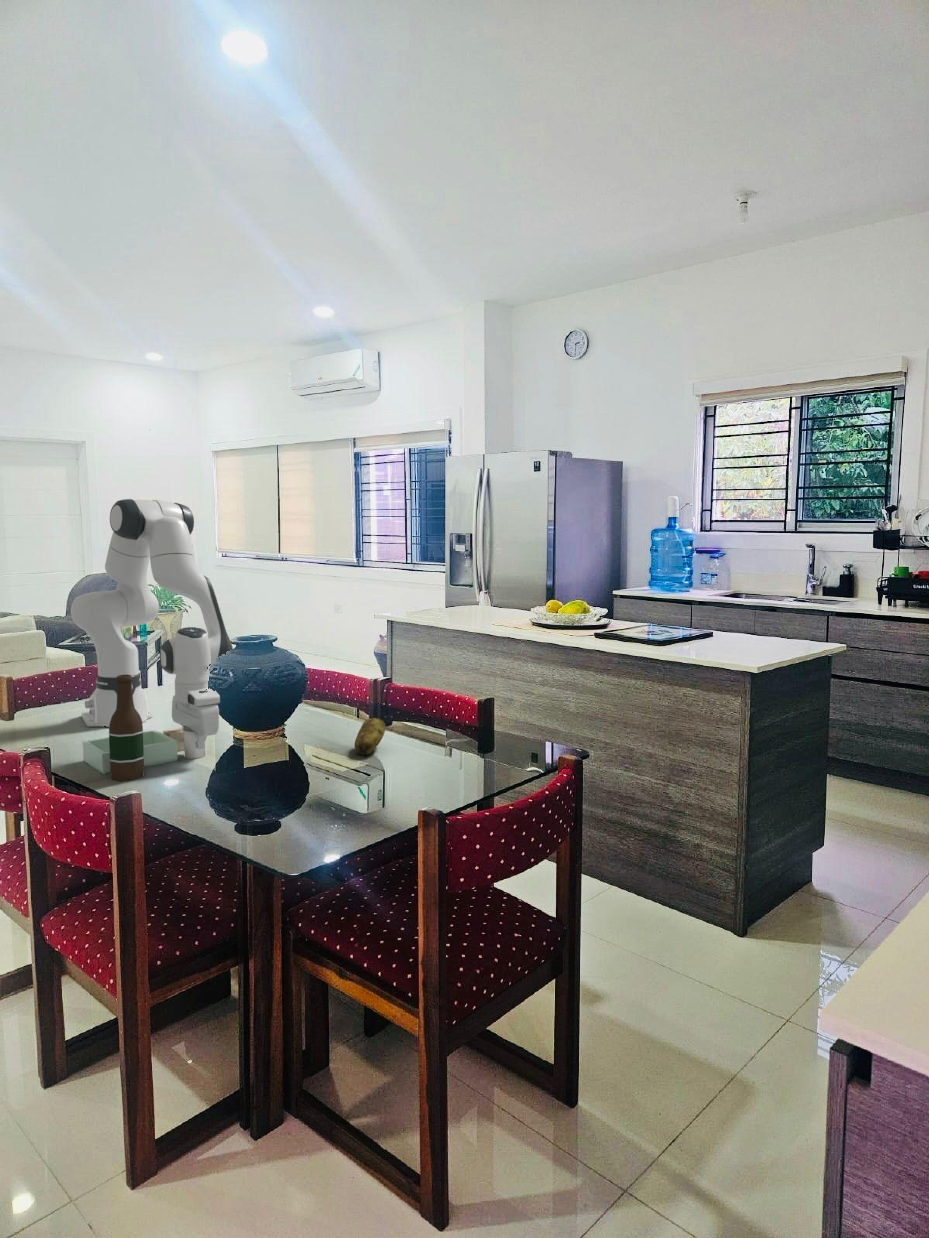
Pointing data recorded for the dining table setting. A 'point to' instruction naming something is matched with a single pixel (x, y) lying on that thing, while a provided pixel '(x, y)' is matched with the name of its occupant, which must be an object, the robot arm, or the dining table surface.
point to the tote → (154, 745)
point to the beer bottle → (126, 735)
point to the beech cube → (176, 737)
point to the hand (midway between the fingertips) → (194, 745)
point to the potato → (369, 735)
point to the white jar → (191, 744)
